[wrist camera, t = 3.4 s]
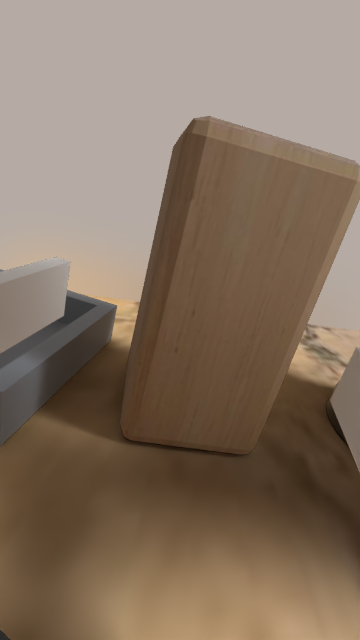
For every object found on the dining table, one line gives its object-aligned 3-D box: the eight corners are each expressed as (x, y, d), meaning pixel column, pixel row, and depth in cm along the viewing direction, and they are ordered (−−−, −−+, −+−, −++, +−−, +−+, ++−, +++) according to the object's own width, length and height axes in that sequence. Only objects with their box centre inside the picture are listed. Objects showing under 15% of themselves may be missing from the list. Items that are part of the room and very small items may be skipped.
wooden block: (125, 367, 31) (175, 133, 24) (225, 383, 33) (300, 169, 26) (116, 445, 22) (191, 105, 15) (255, 462, 24) (383, 165, 17)
